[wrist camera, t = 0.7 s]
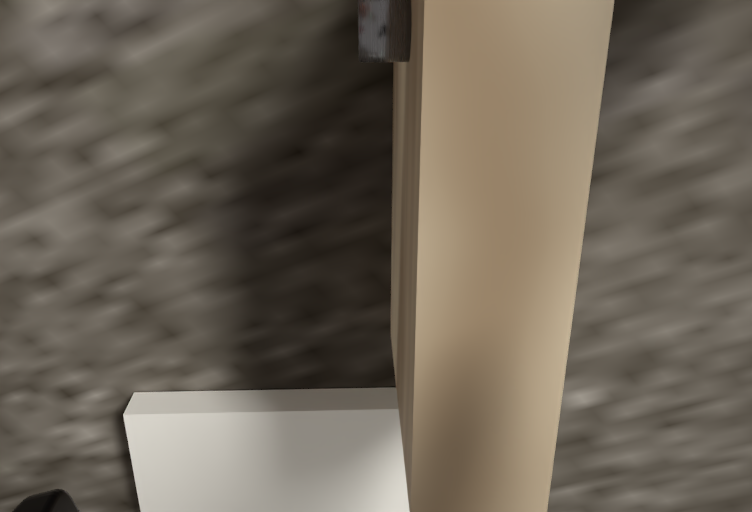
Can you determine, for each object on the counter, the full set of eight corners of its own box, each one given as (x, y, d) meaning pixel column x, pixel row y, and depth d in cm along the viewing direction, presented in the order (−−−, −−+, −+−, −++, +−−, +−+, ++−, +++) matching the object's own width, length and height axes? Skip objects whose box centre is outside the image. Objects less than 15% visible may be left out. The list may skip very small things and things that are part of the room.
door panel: (511, -76, 18) (626, -96, 10) (482, 332, 22) (546, 515, 15) (355, -76, 17) (359, -98, 10) (359, 334, 22) (364, 520, 15)
